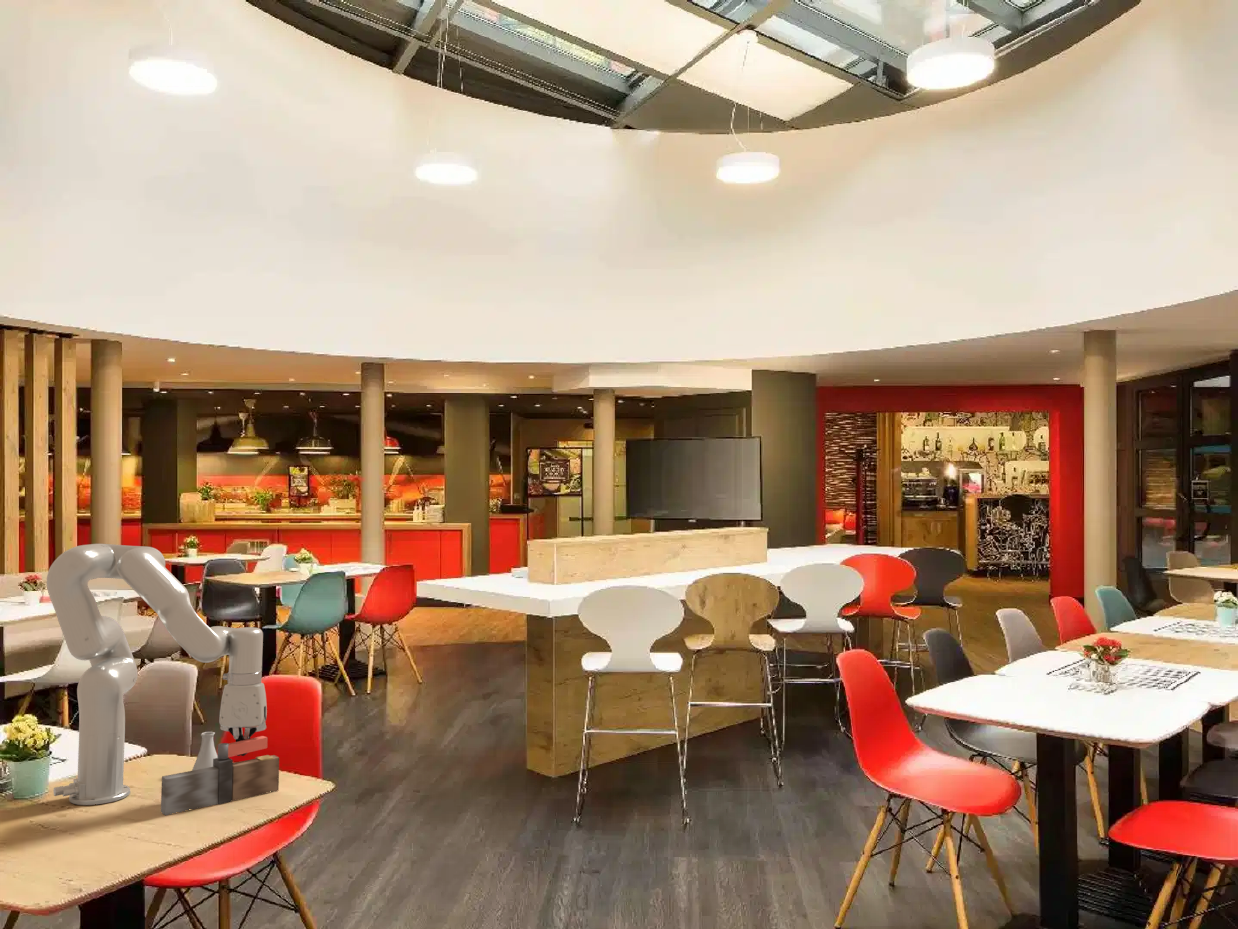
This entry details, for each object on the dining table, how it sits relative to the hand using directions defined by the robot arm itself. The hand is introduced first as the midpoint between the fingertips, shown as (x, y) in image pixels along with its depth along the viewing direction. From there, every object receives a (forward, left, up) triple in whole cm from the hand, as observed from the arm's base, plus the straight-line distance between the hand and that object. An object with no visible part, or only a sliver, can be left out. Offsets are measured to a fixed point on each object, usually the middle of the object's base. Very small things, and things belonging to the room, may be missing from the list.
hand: (242, 754), depth 223 cm
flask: (0, +21, -9) cm, 23 cm away
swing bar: (-2, -4, +1) cm, 4 cm away
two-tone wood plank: (-6, -5, -9) cm, 12 cm away
